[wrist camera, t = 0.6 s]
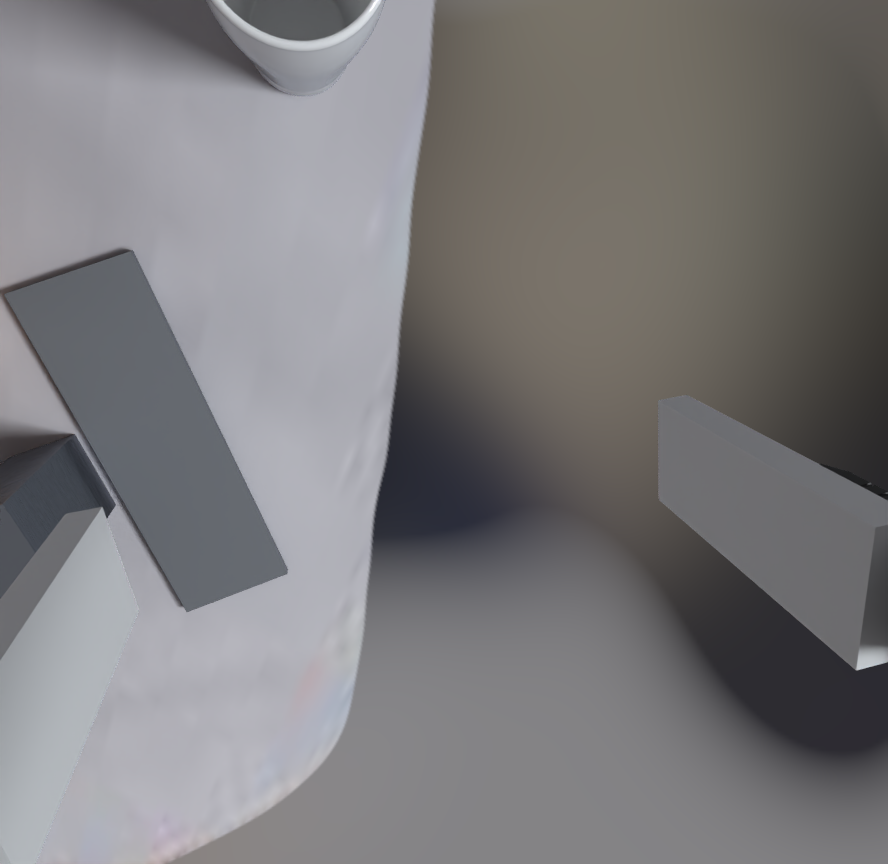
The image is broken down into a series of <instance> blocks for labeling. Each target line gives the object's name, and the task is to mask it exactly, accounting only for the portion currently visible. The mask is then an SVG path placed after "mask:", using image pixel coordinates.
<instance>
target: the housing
mask: <svg viewBox="0 0 888 864" xmlns="http://www.w3.org/2000/svg"><path fill="white" fill-rule="evenodd" d="M115 505H116V504H115V503H114V501H113V499H112V497H111V496H110V494H109V492H108V491H107V489H106V487H105V485H104V484H103V482H102V480H101V478H100V477H99V475H98V473H97V472H96V470H95V468H94V466H93V465H92V463H91V461H90V460H89V458H88V456H87V454H86V453H85V451H84V449H83V448H82V446H81V444H80V442H79V441H78V439H77V437H76V436H75V434H74V435H72V436H69V437H66V438H63V439H60V440H58V441H55V442H52V443H49V444H46V445H44V446H41V447H38V448H35V449H32V450H30V451H27V452H24V453H21V454H18V455H16V456H13V457H10V458H8V459H7V460H6V461H4V462H3V463H2V464H1V465H0V599H1V597H2V596H3V595H4V594H5V592H6V591H7V590H8V588H9V587H10V586H11V584H12V583H13V582H14V580H15V579H16V578H17V577H18V575H19V574H20V573H21V571H22V570H23V569H24V567H25V566H26V565H27V563H28V562H29V561H30V560H31V558H32V557H33V556H34V554H35V553H36V552H37V550H38V549H39V548H40V546H41V545H42V544H43V542H44V541H45V540H46V539H47V537H48V536H49V535H50V533H51V532H52V531H53V529H54V528H55V527H56V525H57V524H58V523H59V522H60V520H61V519H62V518H63V516H64V515H65V514H67V513H72V512H77V511H83V510H88V509H93V508H98V507H103V510H104V513H105V516H106V519H107V518H108V516H109V515H110V513H111V512H112V510H113V509H114V507H115Z"/></svg>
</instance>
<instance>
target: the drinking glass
mask: <svg viewBox="0 0 888 864" xmlns="http://www.w3.org/2000/svg"><path fill="white" fill-rule="evenodd" d="M205 1H206V3H207V4H208V6H209V8H210V10H211V12H212V14H213V15H214V17H215V19H216V20H217V22H218V23H219V25H220V26H221V28H222V29H223V30H224V32H225V33H226V34H227V36H228V37H229V38H230V40H231V41H232V42H233V43H234V44H235V45H236V46H237V47H238V48H239V50H240V51H241V52H242V53H243V54H245V55H246V56H247V57H248V58H249V59H250V60H251V61H252V62H253V64H254V65H255V67H256V68H257V70H258V71H259V73H260V74H261V75H262V76H263V77H264V79H266V80H267V81H268V82H269V83H270V84H271V85H273V86H274V87H275V88H277V89H279V90H281V91H283V92H285V93H287V94H291V95H295V96H313V95H317V94H320V93H322V92H324V91H326V90H328V89H329V88H331V87H332V86H333V85H334V84H335V83H336V82H337V81H338V80H339V79H340V77H341V76H342V74H343V73H344V71H345V69H346V67H347V65H348V64H349V63H350V62H351V61H352V59H353V58H354V57H355V56H356V55H357V54H358V53H359V51H360V50H361V49H362V47H363V46H364V45H365V43H366V42H367V40H368V39H369V37H370V36H371V34H372V32H373V30H374V28H375V26H376V24H377V22H378V20H379V17H380V15H381V12H382V9H383V7H384V3H385V0H205Z"/></svg>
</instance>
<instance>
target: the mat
mask: <svg viewBox="0 0 888 864" xmlns="http://www.w3.org/2000/svg"><path fill="white" fill-rule="evenodd" d="M4 295H5V297H6V299H7V301H8V302H9V304H10V306H11V308H12V309H13V311H14V313H15V314H16V316H17V318H18V320H19V321H20V323H21V325H22V327H23V328H24V330H25V332H26V334H27V335H28V337H29V339H30V341H31V342H32V344H33V346H34V348H35V349H36V351H37V353H38V354H39V356H40V358H41V360H42V361H43V363H44V365H45V367H46V368H47V370H48V372H49V374H50V375H51V377H52V379H53V381H54V382H55V384H56V386H57V387H58V389H59V391H60V393H61V394H62V396H63V398H64V400H65V401H66V403H67V405H68V407H69V408H70V410H71V412H72V414H73V415H74V417H75V419H76V420H77V422H78V424H79V426H80V427H81V429H82V431H83V433H84V434H85V436H86V438H87V440H88V441H89V443H90V445H91V447H92V448H93V450H94V452H95V453H96V455H97V457H98V459H99V460H100V462H101V464H102V466H103V467H104V469H105V471H106V473H107V474H108V476H109V478H110V480H111V481H112V483H113V485H114V487H115V488H116V490H117V492H118V493H119V495H120V497H121V499H122V500H123V502H124V504H125V506H126V507H127V509H128V511H129V513H130V514H131V516H132V518H133V520H134V521H135V523H136V525H137V526H138V528H139V530H140V532H141V533H142V535H143V537H144V539H145V540H146V542H147V544H148V546H149V547H150V549H151V551H152V553H153V554H154V556H155V558H156V559H157V561H158V563H159V565H160V566H161V568H162V570H163V572H164V573H165V575H166V577H167V579H168V580H169V582H170V584H171V586H172V587H173V589H174V591H175V592H176V594H177V596H178V598H179V599H180V601H181V603H182V605H183V606H184V608H185V610H186V612H189V611H191V610H194V609H197V608H199V607H202V606H204V605H207V604H210V603H212V602H215V601H217V600H220V599H223V598H225V597H228V596H231V595H233V594H236V593H238V592H241V591H244V590H246V589H249V588H251V587H254V586H257V585H259V584H262V583H265V582H267V581H270V580H272V579H275V578H278V577H280V576H283V575H285V574H287V571H288V569H287V567H286V565H285V563H284V561H283V559H282V556H281V554H280V552H279V550H278V548H277V546H276V544H275V542H274V540H273V538H272V536H271V534H270V532H269V530H268V528H267V526H266V524H265V521H264V519H263V517H262V515H261V513H260V511H259V509H258V507H257V505H256V503H255V501H254V499H253V497H252V495H251V493H250V491H249V489H248V487H247V484H246V482H245V480H244V478H243V476H242V474H241V472H240V470H239V468H238V466H237V464H236V462H235V460H234V458H233V456H232V454H231V452H230V449H229V447H228V445H227V443H226V441H225V439H224V437H223V435H222V433H221V431H220V429H219V427H218V425H217V423H216V421H215V419H214V417H213V415H212V412H211V410H210V408H209V406H208V404H207V402H206V400H205V398H204V396H203V394H202V392H201V390H200V388H199V386H198V384H197V382H196V380H195V377H194V375H193V373H192V371H191V369H190V367H189V365H188V363H187V361H186V359H185V357H184V355H183V353H182V351H181V349H180V347H179V345H178V343H177V340H176V338H175V336H174V334H173V332H172V330H171V328H170V326H169V324H168V322H167V320H166V318H165V316H164V314H163V312H162V310H161V308H160V305H159V303H158V301H157V299H156V297H155V295H154V293H153V291H152V289H151V287H150V285H149V283H148V281H147V279H146V277H145V275H144V273H143V271H142V268H141V266H140V264H139V262H138V260H137V258H136V256H135V254H134V252H133V251H129V252H127V253H124V254H121V255H118V256H115V257H112V258H109V259H106V260H103V261H100V262H97V263H94V264H91V265H88V266H85V267H82V268H79V269H76V270H74V271H71V272H68V273H65V274H62V275H59V276H56V277H53V278H50V279H47V280H44V281H41V282H38V283H35V284H32V285H29V286H26V287H23V288H21V289H18V290H15V291H12V292H9V293H6V294H4Z"/></svg>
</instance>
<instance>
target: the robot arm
mask: <svg viewBox="0 0 888 864" xmlns="http://www.w3.org/2000/svg"><path fill="white" fill-rule="evenodd" d="M658 429H659V430H658V434H659V435H658V440H659V443H658V447H659V448H658V450H659V500H660V501H661V502H662V503H664V504H665V505H666V506H667V507H668V508H669V509H670V510H671V511H673V512H674V513H675V514H676V515H677V516H678V517H680V518H681V519H682V520H683V521H684V522H685V523H687V524H688V525H689V526H690V527H691V528H692V529H693V530H695V531H696V532H697V533H698V534H699V535H700V536H702V537H703V538H704V539H705V540H706V541H707V542H708V543H710V544H711V545H712V546H713V547H714V548H715V549H717V550H718V551H719V552H720V553H721V554H722V555H724V556H725V557H726V558H727V559H728V560H729V561H730V562H732V563H733V564H734V565H735V566H736V567H737V568H739V569H740V570H741V571H742V572H743V573H744V574H746V575H747V576H748V577H749V578H750V579H751V580H752V581H754V582H755V583H756V584H757V585H758V586H759V587H760V588H762V589H763V590H764V591H765V592H766V593H768V594H769V595H770V596H771V597H772V598H773V599H774V600H775V601H777V602H778V603H779V604H780V605H781V606H782V607H784V608H785V609H786V610H787V611H788V612H789V613H791V614H792V615H793V616H794V617H795V618H796V619H797V620H799V621H800V622H801V623H802V624H803V625H804V626H805V627H807V628H808V629H809V630H810V631H811V632H812V633H814V634H815V635H816V636H817V637H818V638H819V639H820V640H822V641H823V642H824V643H825V644H826V645H827V646H829V647H830V648H831V649H832V650H833V651H835V652H836V653H837V654H838V655H839V656H840V657H841V658H843V659H844V660H845V661H846V662H847V663H848V664H850V665H851V666H852V667H853V668H854V669H855V670H859V669H863V668H867V667H871V666H875V665H878V664H882V663H886V662H888V491H886V490H884V489H882V488H880V487H878V486H876V485H874V486H872V485H871V483H870V482H868V481H866V480H864V479H862V478H860V477H858V476H857V475H854V474H853V473H851V472H848V471H845V470H841V469H838V468H834V467H830V466H827V465H823V464H817V463H815V462H813V461H812V460H810V459H808V458H806V457H804V456H802V455H800V454H798V453H796V452H794V451H793V450H791V449H789V448H787V447H785V446H783V445H781V444H779V443H777V442H775V441H773V440H772V439H770V438H768V437H766V436H764V435H762V434H760V433H758V432H756V431H754V430H752V429H751V428H749V427H747V426H745V425H743V424H741V423H739V422H737V421H735V420H734V419H732V418H730V417H728V416H726V415H724V414H722V413H720V412H718V411H716V410H714V409H712V408H711V407H709V406H707V405H705V404H703V403H701V402H699V401H697V400H695V399H693V398H691V397H689V396H688V395H684V396H679V397H674V398H669V399H663V400H659V401H658ZM138 612H139V608H138V605H137V602H136V600H135V597H134V594H133V591H132V588H131V586H130V583H129V580H128V577H127V574H126V572H125V569H124V566H123V563H122V560H121V558H120V555H119V552H118V549H117V546H116V544H115V541H114V538H113V535H112V533H111V530H110V527H109V524H108V521H107V519H106V516H105V513H104V510H103V507H98V508H93V509H88V510H83V511H77V512H72V513H67V514H65V515H64V516H63V518H62V519H61V520H60V522H59V523H58V524H57V525H56V527H55V528H54V529H53V531H52V532H51V533H50V535H49V536H48V537H47V539H46V540H45V541H44V542H43V544H42V545H41V546H40V548H39V549H38V550H37V552H36V553H35V554H34V556H33V557H32V558H31V560H30V561H29V562H28V563H27V565H26V566H25V567H24V569H23V570H22V571H21V573H20V574H19V575H18V577H17V578H16V579H15V580H14V582H13V583H12V584H11V586H10V587H9V588H8V590H7V591H6V592H5V594H4V595H3V596H2V597H1V599H0V864H36V863H37V860H38V858H39V855H40V853H41V850H42V848H43V845H44V843H45V841H46V838H47V836H48V833H49V831H50V828H51V826H52V823H53V821H54V818H55V816H56V814H57V811H58V809H59V806H60V804H61V801H62V799H63V796H64V794H65V792H66V789H67V787H68V784H69V782H70V779H71V777H72V774H73V772H74V769H75V767H76V765H77V762H78V760H79V757H80V755H81V752H82V750H83V747H84V745H85V742H86V740H87V738H88V735H89V733H90V730H91V728H92V725H93V723H94V720H95V718H96V715H97V713H98V711H99V708H100V706H101V703H102V701H103V698H104V696H105V693H106V691H107V688H108V686H109V684H110V681H111V679H112V676H113V674H114V671H115V669H116V666H117V664H118V662H119V659H120V657H121V654H122V652H123V649H124V647H125V644H126V642H127V639H128V637H129V635H130V632H131V630H132V627H133V625H134V622H135V620H136V617H137V615H138Z"/></svg>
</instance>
